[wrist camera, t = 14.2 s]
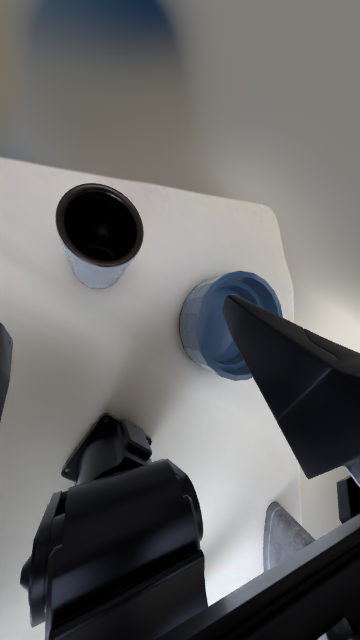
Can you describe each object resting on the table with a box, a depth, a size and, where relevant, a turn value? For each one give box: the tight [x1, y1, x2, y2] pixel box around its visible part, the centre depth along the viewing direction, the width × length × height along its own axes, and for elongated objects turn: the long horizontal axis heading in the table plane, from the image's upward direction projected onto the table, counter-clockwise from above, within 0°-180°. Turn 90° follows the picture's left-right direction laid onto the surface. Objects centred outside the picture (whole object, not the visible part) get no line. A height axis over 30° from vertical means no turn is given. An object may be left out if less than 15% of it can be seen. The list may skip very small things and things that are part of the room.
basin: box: [180, 271, 283, 381], centre depth 25 cm, size 12×12×4 cm
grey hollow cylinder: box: [55, 183, 144, 289], centre depth 16 cm, size 4×4×10 cm
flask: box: [264, 502, 328, 640], centre depth 23 cm, size 4×14×18 cm, turn 1°
